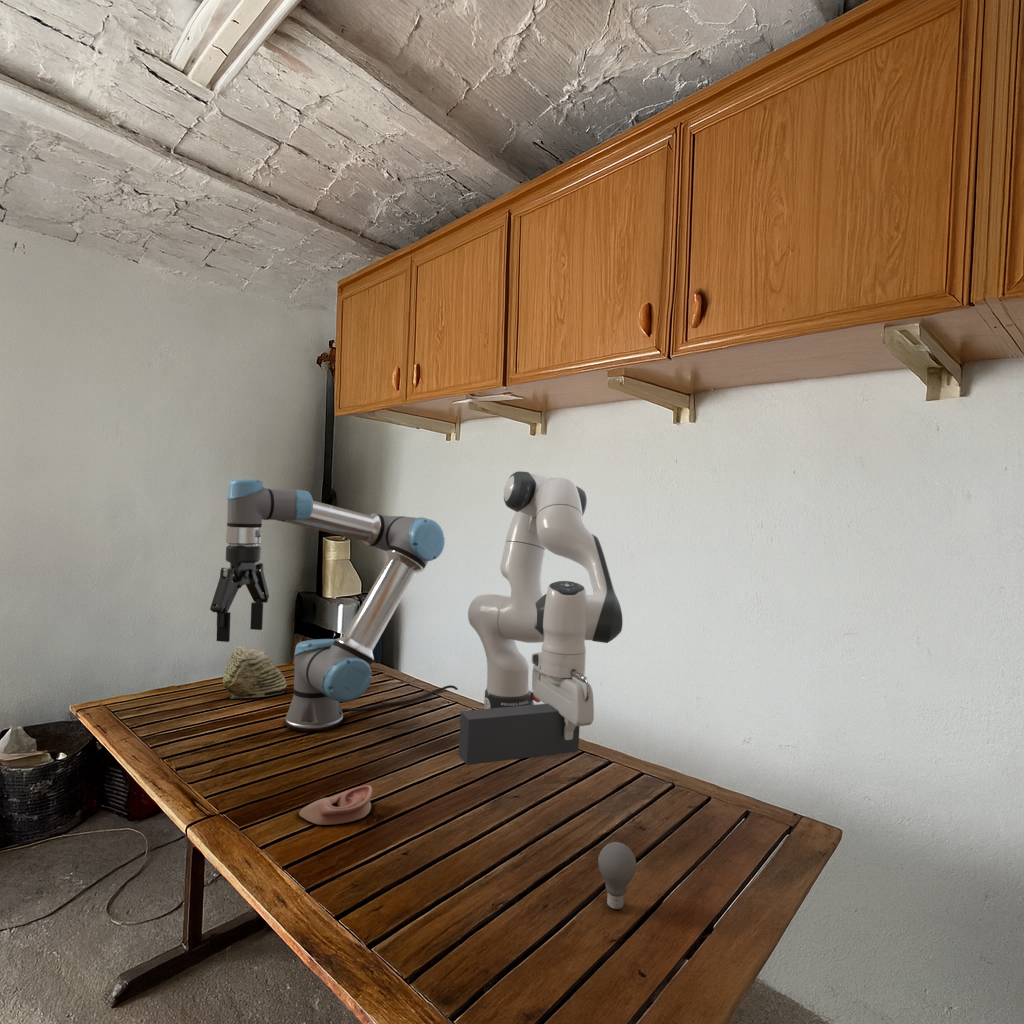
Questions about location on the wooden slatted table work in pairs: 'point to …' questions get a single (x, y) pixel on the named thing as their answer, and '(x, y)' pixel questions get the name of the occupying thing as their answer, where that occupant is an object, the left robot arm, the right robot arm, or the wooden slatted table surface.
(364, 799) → the anatomical model
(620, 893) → the light bulb
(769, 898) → the wooden slatted table surface
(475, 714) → the bar
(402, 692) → the wooden slatted table surface
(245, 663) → the fossil
